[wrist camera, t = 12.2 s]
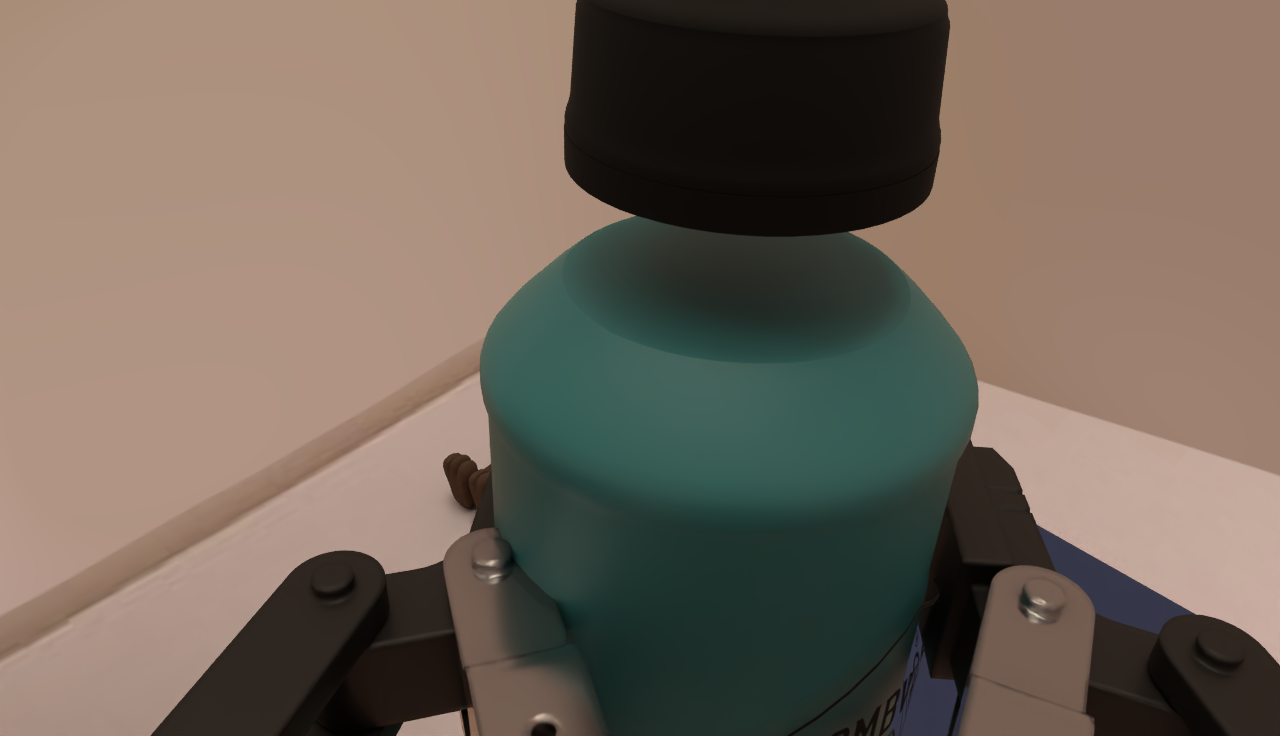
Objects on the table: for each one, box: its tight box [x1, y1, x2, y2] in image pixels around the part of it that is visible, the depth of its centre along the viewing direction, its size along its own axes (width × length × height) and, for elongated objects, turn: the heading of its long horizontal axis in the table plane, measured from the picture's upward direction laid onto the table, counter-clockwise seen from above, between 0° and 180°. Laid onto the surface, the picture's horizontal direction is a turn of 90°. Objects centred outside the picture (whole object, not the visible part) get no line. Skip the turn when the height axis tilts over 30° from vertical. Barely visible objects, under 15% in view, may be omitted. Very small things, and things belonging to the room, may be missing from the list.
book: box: [890, 525, 1196, 736], centre depth 38 cm, size 21×14×3 cm
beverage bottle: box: [480, 0, 978, 736], centre depth 15 cm, size 6×7×20 cm
